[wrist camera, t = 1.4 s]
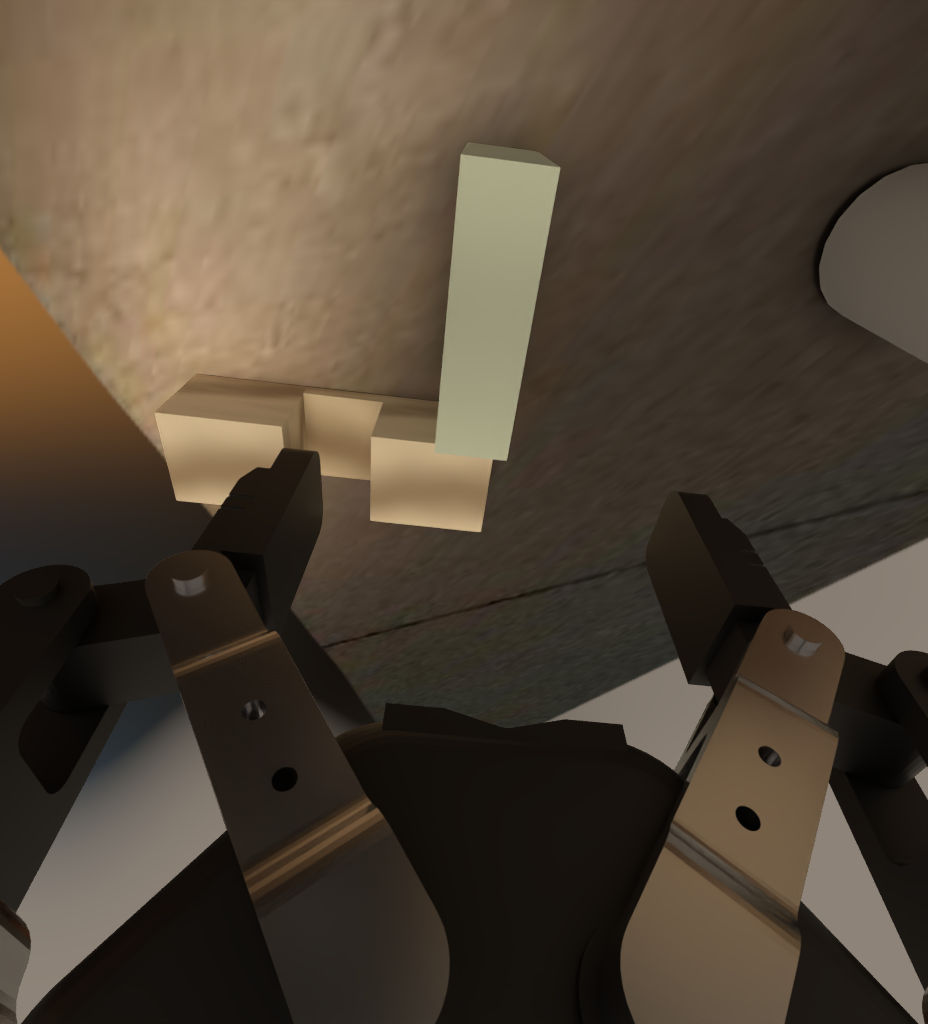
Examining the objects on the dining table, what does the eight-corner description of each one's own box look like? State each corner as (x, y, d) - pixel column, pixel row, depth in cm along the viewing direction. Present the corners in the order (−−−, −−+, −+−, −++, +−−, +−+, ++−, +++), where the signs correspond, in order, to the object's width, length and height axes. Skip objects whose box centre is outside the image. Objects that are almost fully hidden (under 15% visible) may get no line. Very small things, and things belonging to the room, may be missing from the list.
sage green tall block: (467, 141, 27) (460, 154, 19) (537, 151, 27) (560, 167, 19) (445, 372, 34) (434, 452, 26) (501, 378, 34) (506, 460, 26)
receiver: (196, 373, 34) (154, 412, 30) (492, 407, 35) (494, 450, 31) (212, 455, 38) (176, 500, 33) (481, 484, 39) (480, 532, 34)
